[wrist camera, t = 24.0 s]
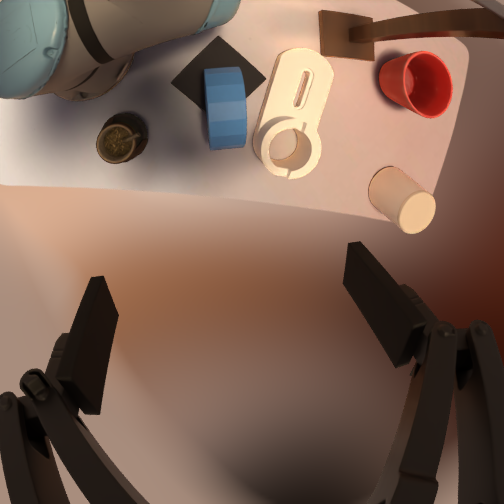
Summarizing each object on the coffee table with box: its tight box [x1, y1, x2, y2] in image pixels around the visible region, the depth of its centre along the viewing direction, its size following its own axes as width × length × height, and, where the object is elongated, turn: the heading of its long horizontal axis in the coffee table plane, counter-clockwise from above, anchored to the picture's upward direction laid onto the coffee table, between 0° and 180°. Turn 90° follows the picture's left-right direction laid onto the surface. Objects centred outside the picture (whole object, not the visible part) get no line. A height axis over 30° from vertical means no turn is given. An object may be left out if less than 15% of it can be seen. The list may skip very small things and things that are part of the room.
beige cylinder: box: [369, 167, 435, 234], centre depth 50 cm, size 11×9×10 cm
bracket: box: [253, 48, 334, 179], centre depth 41 cm, size 20×9×7 cm, turn 164°
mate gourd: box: [96, 113, 148, 164], centre depth 38 cm, size 7×8×10 cm
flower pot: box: [379, 51, 453, 118], centre depth 39 cm, size 11×11×10 cm
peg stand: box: [319, 0, 504, 61], centre depth 23 cm, size 17×8×35 cm, turn 93°
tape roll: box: [204, 67, 247, 150], centre depth 37 cm, size 4×11×11 cm
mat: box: [171, 36, 266, 112], centre depth 40 cm, size 10×10×1 cm
